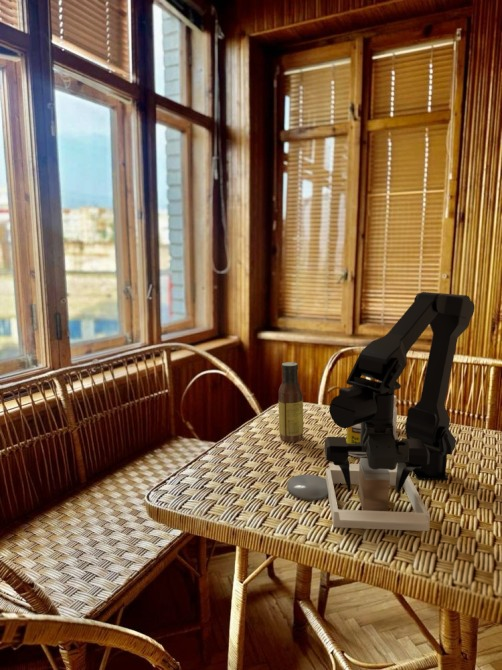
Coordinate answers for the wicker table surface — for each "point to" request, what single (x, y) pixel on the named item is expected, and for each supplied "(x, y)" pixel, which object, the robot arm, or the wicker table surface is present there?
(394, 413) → the pepper shaker
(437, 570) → the wicker table surface
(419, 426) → the robot arm
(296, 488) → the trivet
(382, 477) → the gray box
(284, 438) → the sauce bottle
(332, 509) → the beige square frame
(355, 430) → the supplement bottle
